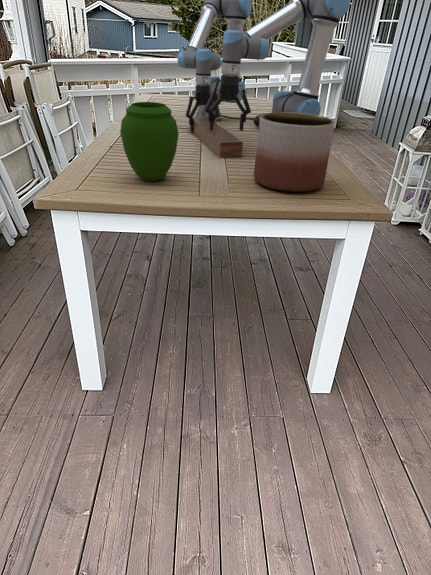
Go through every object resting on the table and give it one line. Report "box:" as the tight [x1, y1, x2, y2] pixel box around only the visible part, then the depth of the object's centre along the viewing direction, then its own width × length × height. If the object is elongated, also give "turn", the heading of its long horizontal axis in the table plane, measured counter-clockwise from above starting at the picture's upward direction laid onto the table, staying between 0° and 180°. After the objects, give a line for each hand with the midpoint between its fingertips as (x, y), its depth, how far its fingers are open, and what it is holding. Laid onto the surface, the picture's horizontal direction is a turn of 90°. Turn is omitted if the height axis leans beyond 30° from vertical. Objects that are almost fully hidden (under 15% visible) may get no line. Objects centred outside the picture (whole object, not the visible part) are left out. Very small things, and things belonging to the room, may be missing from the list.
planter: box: [253, 111, 336, 193], centre depth 143 cm, size 25×25×22 cm
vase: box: [119, 101, 179, 182], centre depth 140 cm, size 20×20×24 cm
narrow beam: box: [189, 116, 244, 159], centre depth 197 cm, size 57×10×6 cm, turn 16°
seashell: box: [252, 112, 266, 128], centre depth 231 cm, size 10×6×8 cm, turn 97°
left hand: (201, 131), depth 216 cm, fingers closed on narrow beam, 10 cm apart
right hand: (226, 130), depth 177 cm, fingers open, 13 cm apart
